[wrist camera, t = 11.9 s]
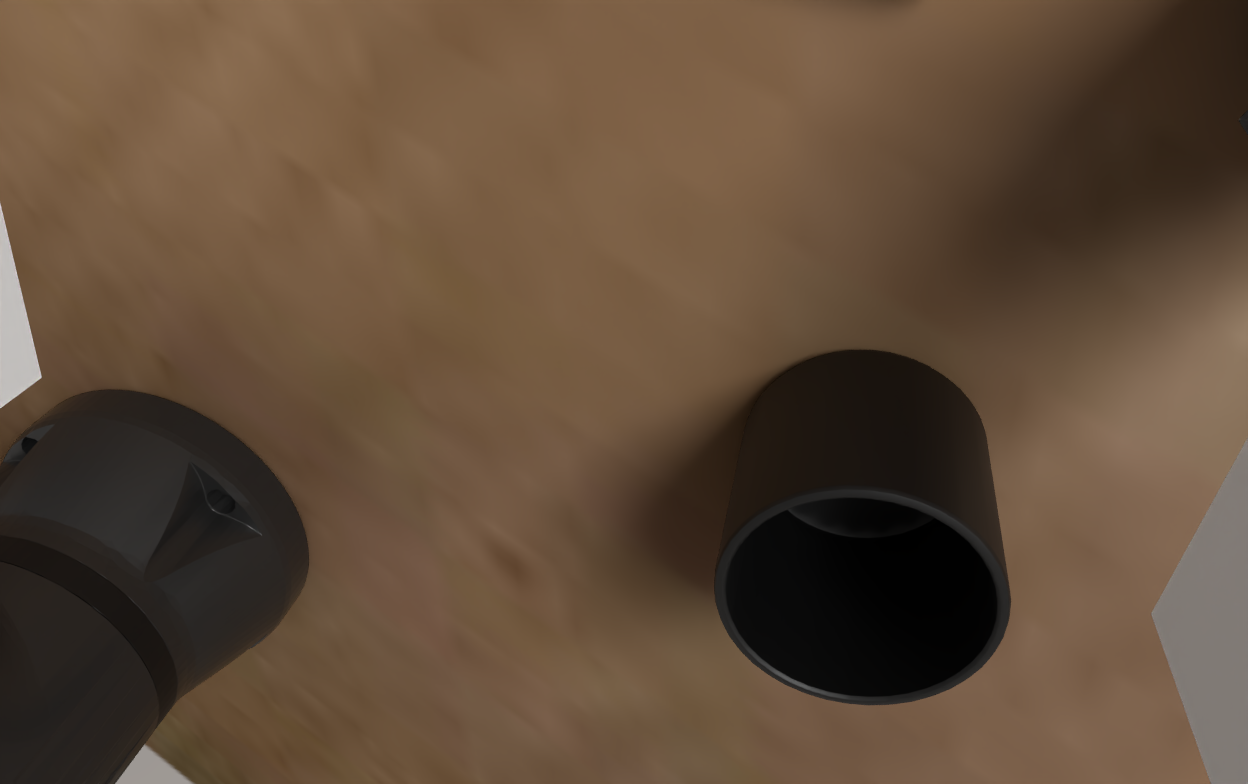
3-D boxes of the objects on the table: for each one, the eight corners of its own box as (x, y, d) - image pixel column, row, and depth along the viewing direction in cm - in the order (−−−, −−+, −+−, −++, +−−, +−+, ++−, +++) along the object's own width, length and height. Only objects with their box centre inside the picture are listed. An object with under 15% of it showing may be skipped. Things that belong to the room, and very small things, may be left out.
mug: (678, 515, 44) (636, 670, 36) (818, 302, 37) (802, 438, 30) (867, 610, 44) (864, 782, 37) (1039, 418, 38) (1077, 580, 30)
